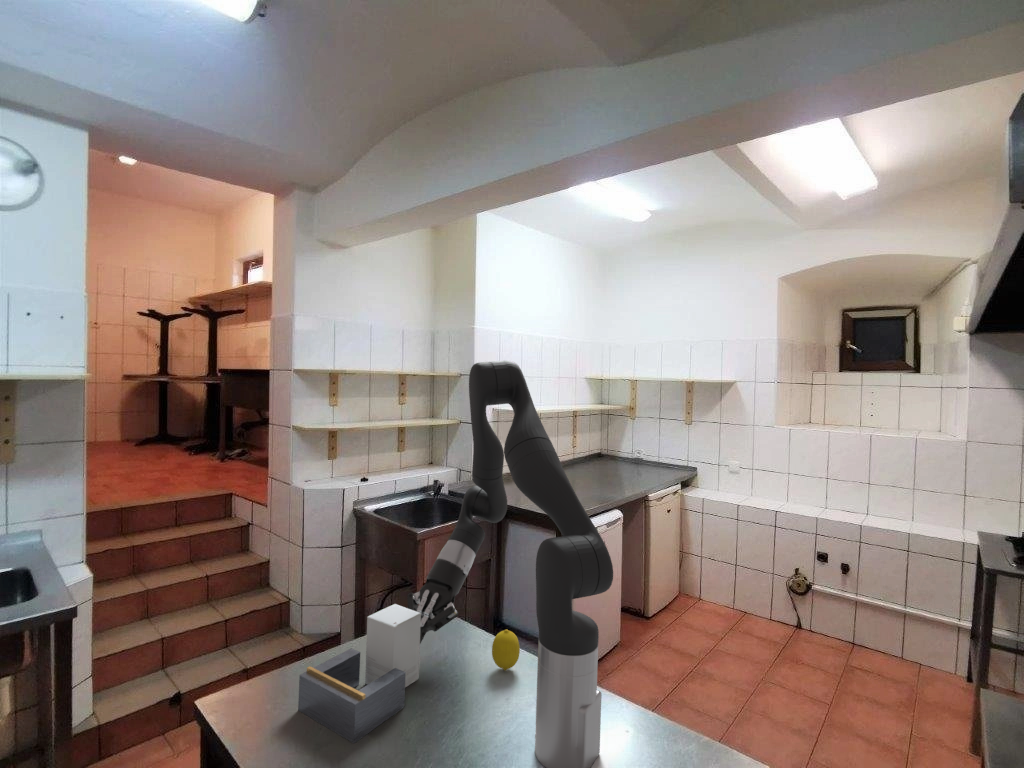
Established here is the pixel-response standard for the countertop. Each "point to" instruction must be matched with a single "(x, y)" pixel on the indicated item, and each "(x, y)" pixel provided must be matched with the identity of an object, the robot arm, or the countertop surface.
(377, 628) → the supplement box
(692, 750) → the countertop surface
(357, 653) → the cradle
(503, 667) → the lemon
